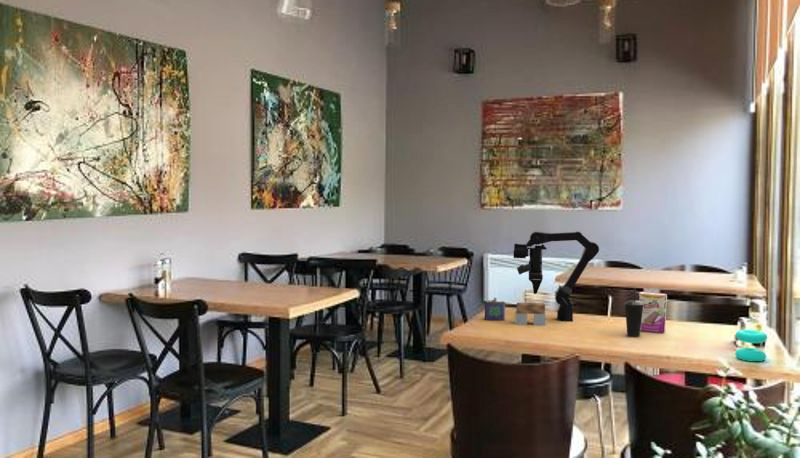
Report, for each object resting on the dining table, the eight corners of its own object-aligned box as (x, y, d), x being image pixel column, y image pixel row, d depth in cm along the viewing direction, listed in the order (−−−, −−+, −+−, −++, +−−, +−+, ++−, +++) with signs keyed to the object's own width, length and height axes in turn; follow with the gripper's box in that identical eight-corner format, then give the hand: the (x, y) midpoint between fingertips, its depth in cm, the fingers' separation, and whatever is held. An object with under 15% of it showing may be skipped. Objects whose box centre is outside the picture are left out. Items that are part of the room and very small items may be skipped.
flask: (504, 320, 315) (504, 297, 314) (505, 321, 312) (505, 298, 311) (484, 320, 315) (484, 296, 315) (484, 321, 312) (485, 298, 312)
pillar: (544, 323, 307) (545, 312, 307) (545, 325, 302) (545, 314, 302) (533, 322, 308) (533, 311, 308) (533, 325, 303) (533, 313, 303)
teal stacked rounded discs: (766, 330, 249) (768, 335, 240) (764, 357, 250) (767, 363, 241) (735, 327, 253) (736, 333, 244) (734, 354, 254) (735, 360, 245)
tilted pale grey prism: (526, 322, 308) (527, 311, 308) (526, 324, 304) (527, 313, 303) (515, 322, 309) (515, 311, 309) (515, 324, 304) (515, 313, 304)
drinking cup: (642, 334, 287) (644, 287, 285) (643, 338, 279) (644, 289, 278) (623, 333, 289) (625, 286, 288) (623, 336, 282) (624, 288, 281)
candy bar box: (637, 331, 294) (638, 293, 293) (638, 329, 298) (639, 291, 297) (664, 333, 289) (666, 295, 288) (665, 331, 293) (667, 293, 292)
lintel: (543, 312, 307) (543, 303, 307) (544, 314, 302) (544, 305, 302) (516, 311, 309) (516, 302, 308) (517, 313, 304) (517, 304, 303)
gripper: (518, 256, 327) (517, 288, 328) (517, 260, 309) (517, 294, 310) (542, 257, 325) (541, 289, 326) (543, 261, 307) (542, 295, 308)
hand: (535, 292), depth 317 cm, fingers open, 9 cm apart
